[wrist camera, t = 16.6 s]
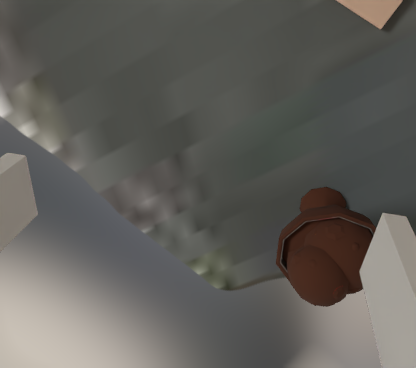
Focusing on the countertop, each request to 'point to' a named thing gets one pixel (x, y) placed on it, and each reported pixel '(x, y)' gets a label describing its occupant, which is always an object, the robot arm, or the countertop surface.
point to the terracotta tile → (373, 9)
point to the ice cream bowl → (324, 248)
